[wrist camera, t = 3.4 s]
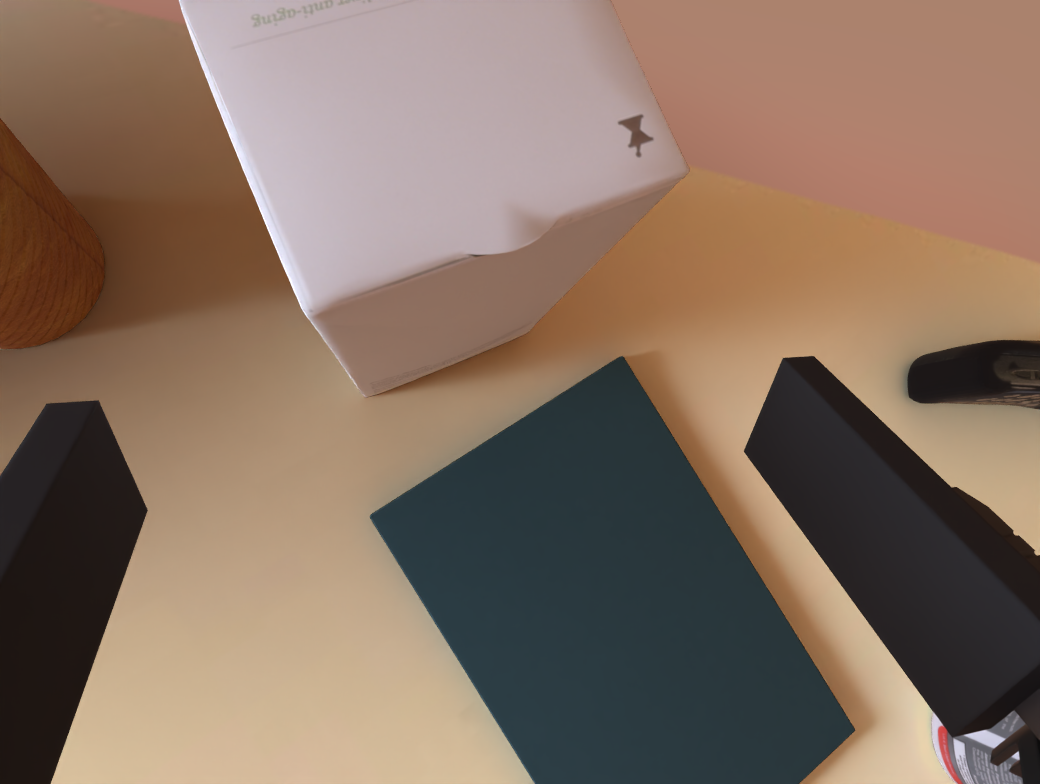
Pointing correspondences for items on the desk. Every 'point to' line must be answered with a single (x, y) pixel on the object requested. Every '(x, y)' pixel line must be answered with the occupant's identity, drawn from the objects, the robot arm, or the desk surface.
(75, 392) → the desk surface
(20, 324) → the disposable coffee cup
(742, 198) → the desk surface
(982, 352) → the dark rounded bar
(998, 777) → the pill bottle
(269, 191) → the cosmetic box
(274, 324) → the desk surface
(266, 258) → the desk surface
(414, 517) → the mat
